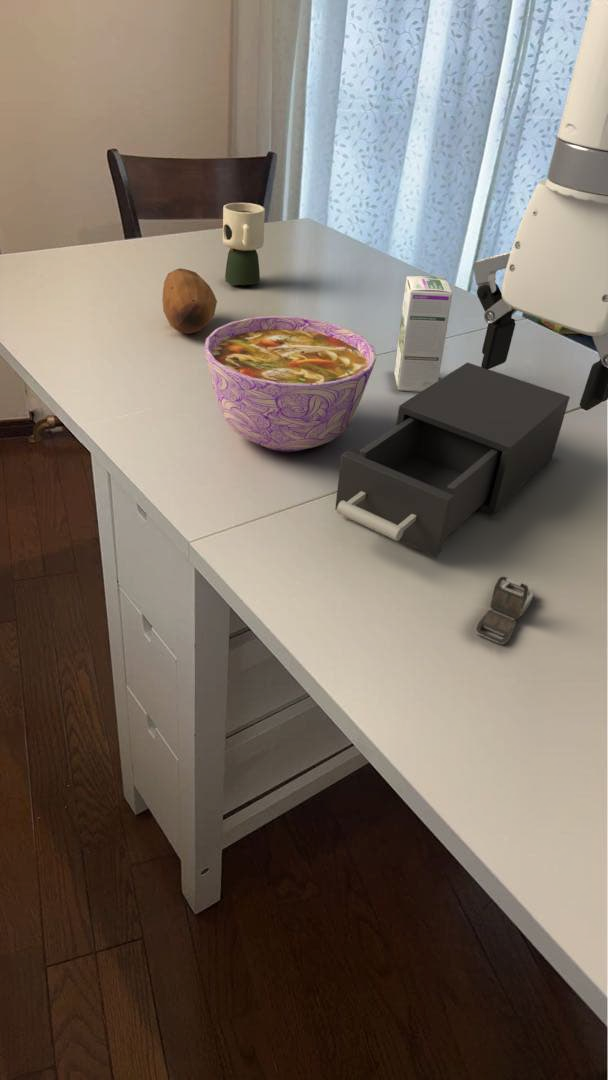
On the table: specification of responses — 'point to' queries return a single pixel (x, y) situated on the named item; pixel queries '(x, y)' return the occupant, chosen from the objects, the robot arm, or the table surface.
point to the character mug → (243, 241)
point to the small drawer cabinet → (495, 421)
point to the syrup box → (422, 332)
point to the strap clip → (505, 609)
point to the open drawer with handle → (416, 483)
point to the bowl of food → (288, 379)
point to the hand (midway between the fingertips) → (540, 384)
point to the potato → (187, 301)
